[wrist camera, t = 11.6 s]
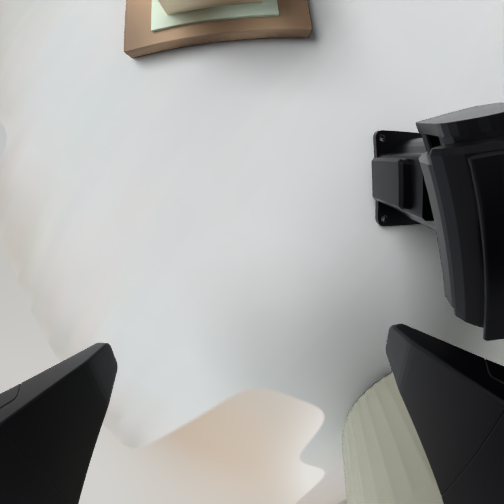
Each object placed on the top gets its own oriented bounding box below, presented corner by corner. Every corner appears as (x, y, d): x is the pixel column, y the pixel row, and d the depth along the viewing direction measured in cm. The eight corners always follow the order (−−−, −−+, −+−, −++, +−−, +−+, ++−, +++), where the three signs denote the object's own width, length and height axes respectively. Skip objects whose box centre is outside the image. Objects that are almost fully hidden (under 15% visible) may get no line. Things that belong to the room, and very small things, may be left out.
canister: (464, 295, 21) (616, 447, 1) (468, 403, 26) (539, 517, 6) (286, 389, 24) (313, 627, 4) (343, 468, 29) (372, 605, 9)
